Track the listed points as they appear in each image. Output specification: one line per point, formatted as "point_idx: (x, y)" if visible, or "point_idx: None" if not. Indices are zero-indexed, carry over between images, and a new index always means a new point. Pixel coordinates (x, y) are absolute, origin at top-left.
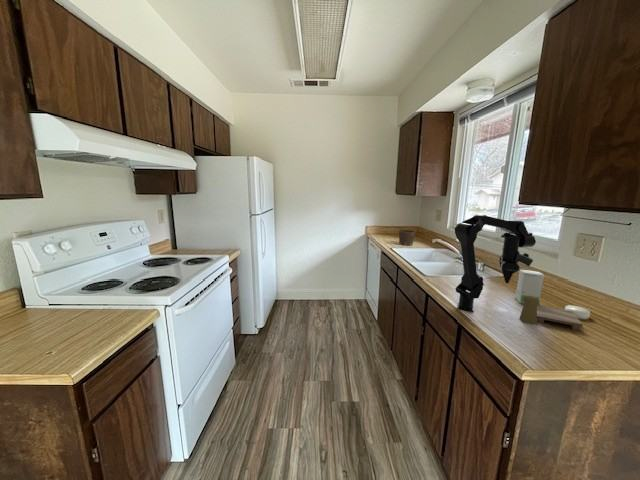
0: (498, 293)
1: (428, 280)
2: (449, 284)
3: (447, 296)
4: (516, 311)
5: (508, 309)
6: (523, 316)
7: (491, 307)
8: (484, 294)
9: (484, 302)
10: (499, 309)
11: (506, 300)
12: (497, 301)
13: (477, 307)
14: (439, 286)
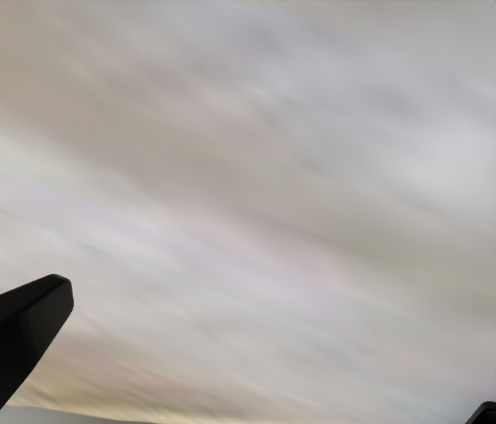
0: (4, 43)
1: (52, 396)
2: None
3: (275, 419)
4: (480, 25)
5: (432, 99)
6: None
7: (414, 241)
8: (104, 178)
9: (302, 249)
10: (453, 191)
11: (157, 26)
12: (229, 130)
13: (444, 343)
14: (116, 387)
